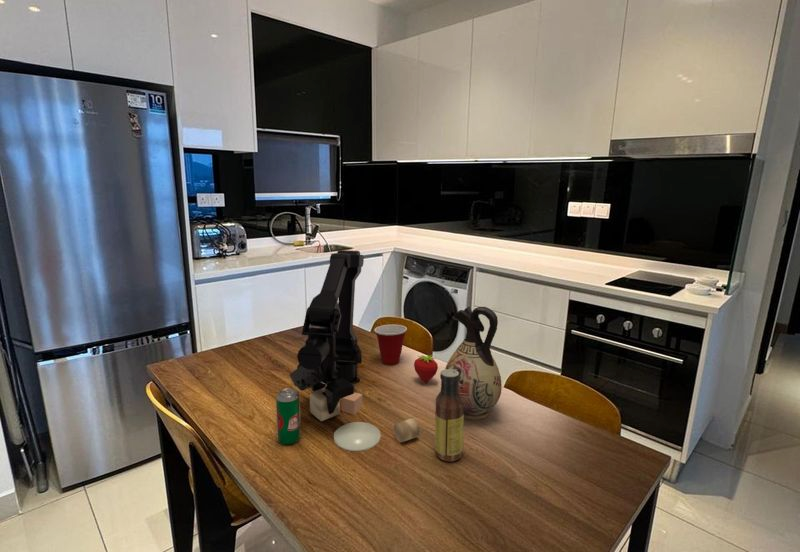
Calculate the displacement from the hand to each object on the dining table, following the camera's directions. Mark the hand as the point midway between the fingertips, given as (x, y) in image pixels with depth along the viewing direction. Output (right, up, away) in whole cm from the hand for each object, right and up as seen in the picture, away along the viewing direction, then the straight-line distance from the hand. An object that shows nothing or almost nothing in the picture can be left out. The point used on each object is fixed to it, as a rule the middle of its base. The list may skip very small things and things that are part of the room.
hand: (324, 408), depth 110 cm
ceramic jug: (+38, -2, +3) cm, 39 cm away
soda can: (-7, -4, -10) cm, 13 cm away
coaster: (+9, -4, -8) cm, 13 cm away
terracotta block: (+7, -1, +3) cm, 8 cm away
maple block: (0, -1, 0) cm, 1 cm away
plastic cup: (+16, +5, +33) cm, 37 cm away
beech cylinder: (+19, -2, -10) cm, 22 cm away
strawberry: (+27, +2, +19) cm, 33 cm away
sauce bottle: (+30, -6, -14) cm, 34 cm away
